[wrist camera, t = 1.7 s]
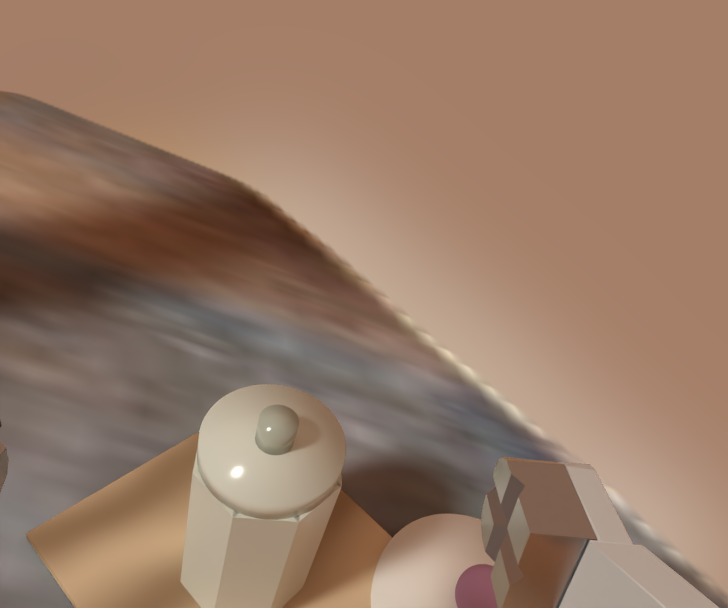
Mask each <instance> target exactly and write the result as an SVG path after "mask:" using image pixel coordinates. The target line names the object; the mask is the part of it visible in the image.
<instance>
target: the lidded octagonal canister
mask: <svg viewBox="0 0 728 608" xmlns="http://www.w3.org/2000/svg"><path fill="white" fill-rule="evenodd" d="M345 456H346V441H345V436H344V433H343V430H342V428H341V425H340V423H339V422H338V420H337V419H336V417H335V416H334V415H333V413H332V412H331V411H330V410H329V409H328V408H327V407H326V406H325V405H324V404H323V403H321V402H320V401H319V400H317V399H316V398H314V397H313V396H311V395H309V394H307V393H305V392H303V391H300V390H297V389H295V388H291V387H287V386H281V385H272V384H263V385H253V386H248V387H244V388H241V389H238V390H235V391H233V392H231V393H229V394H227V395H226V396H224V397H223V398H221V399H220V400H219V401H218V402H216V403H215V404H214V405H213V406H212V407H211V409H210V410H209V411H208V413H207V414H206V416H205V417H204V420H203V422H202V424H201V427H200V431H199V439H198V447H197V453H196V458H195V463H194V468H193V473H192V481H191V490H190V499H189V508H188V517H187V526H186V535H185V544H184V553H183V562H182V571H181V580H180V582H181V583H182V584H183V586H184V587H185V588H186V589H187V591H188V592H189V593H190V594H191V596H192V597H193V598H194V599H195V601H196V602H197V603H198V604H199V606H200V607H201V608H282V607H283V606H284V605H285V604H286V603H287V602H288V601H289V600H291V599H292V598H293V597H294V596H295V595H296V594H297V593H298V592H299V591H300V590H301V589H302V588H303V586H304V583H305V581H306V578H307V575H308V573H309V570H310V568H311V565H312V562H313V560H314V557H315V555H316V552H317V550H318V547H319V544H320V542H321V539H322V537H323V534H324V531H325V529H326V526H327V524H328V521H329V518H330V516H331V513H332V511H333V508H334V505H335V503H336V500H337V498H338V495H339V492H340V490H341V487H342V475H341V470H342V467H343V464H344V462H345Z"/></svg>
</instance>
